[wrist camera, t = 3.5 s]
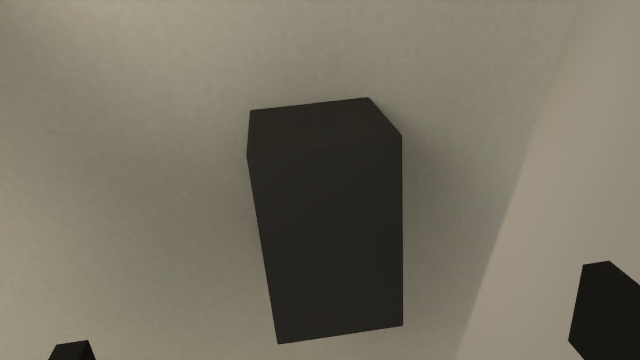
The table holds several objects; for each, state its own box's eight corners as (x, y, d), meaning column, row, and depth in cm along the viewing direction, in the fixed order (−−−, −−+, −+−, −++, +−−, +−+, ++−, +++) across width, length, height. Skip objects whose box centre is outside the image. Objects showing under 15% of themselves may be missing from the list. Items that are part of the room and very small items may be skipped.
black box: (368, 96, 19) (402, 135, 14) (374, 255, 22) (403, 326, 18) (249, 110, 19) (246, 153, 14) (274, 269, 22) (277, 345, 17)
